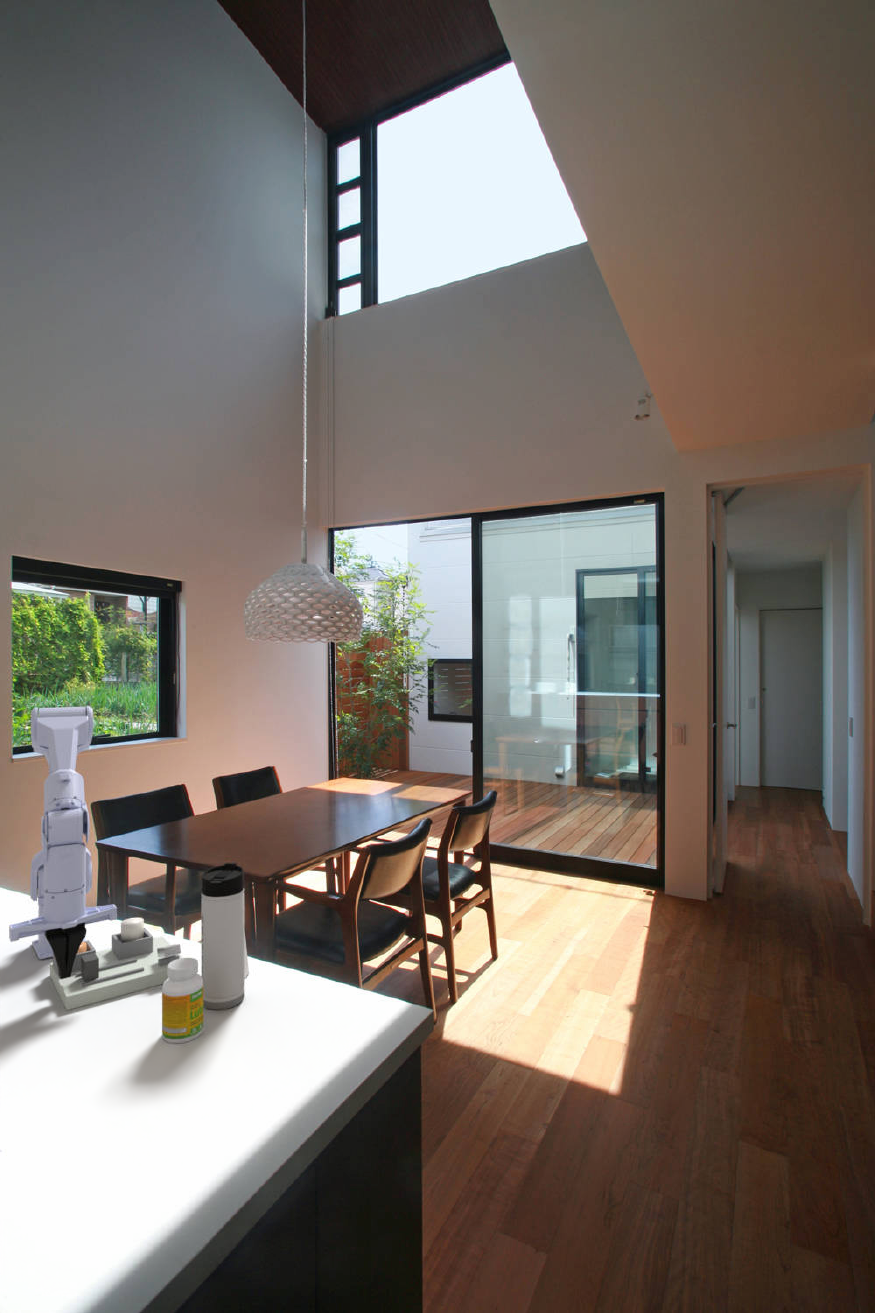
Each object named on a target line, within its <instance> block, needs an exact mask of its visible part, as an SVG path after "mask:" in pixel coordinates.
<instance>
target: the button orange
mask: <svg viewBox="0 0 875 1313" xmlns="http://www.w3.org/2000/svg"><path fill="white" fill-rule="evenodd" d="M82 952H86V942H82V943H81V945H80V947H79V950H78V952H77V954H78V953H82Z"/></svg>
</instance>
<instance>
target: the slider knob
mask: <svg viewBox="0 0 875 1313" xmlns="http://www.w3.org/2000/svg"><path fill="white" fill-rule="evenodd" d="M81 976H82V978H83V980H84V981H89V980H93V979H97V978H99V958H98V957H97V955H96V954H95V953H93V954H88V955H84V956H81Z"/></svg>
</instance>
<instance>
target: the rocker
mask: <svg viewBox="0 0 875 1313" xmlns="http://www.w3.org/2000/svg"><path fill="white" fill-rule="evenodd" d="M181 949H182V948H181V944H179V943H178V944H176V943H175V944H170V945H169V946H165V947H161V948H157V953H158V957H168V956H172V955H176V954H180V955H181V953H182V950H181Z"/></svg>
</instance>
